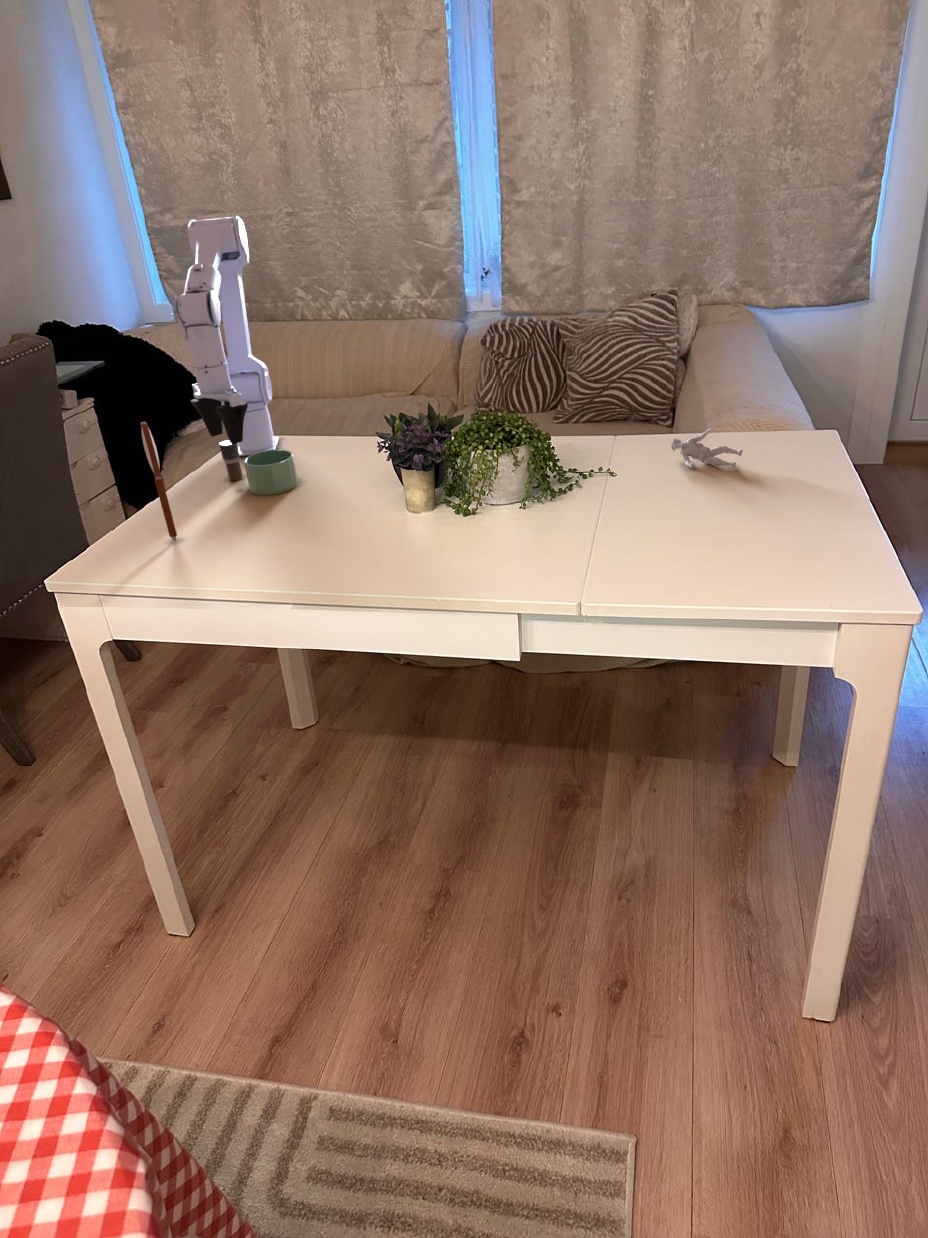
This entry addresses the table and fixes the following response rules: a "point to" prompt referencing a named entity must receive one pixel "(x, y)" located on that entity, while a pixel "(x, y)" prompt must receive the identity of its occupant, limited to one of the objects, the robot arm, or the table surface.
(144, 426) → the magnifying glass
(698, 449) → the soldier figure
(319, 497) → the table surface
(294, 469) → the cup
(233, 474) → the brush
